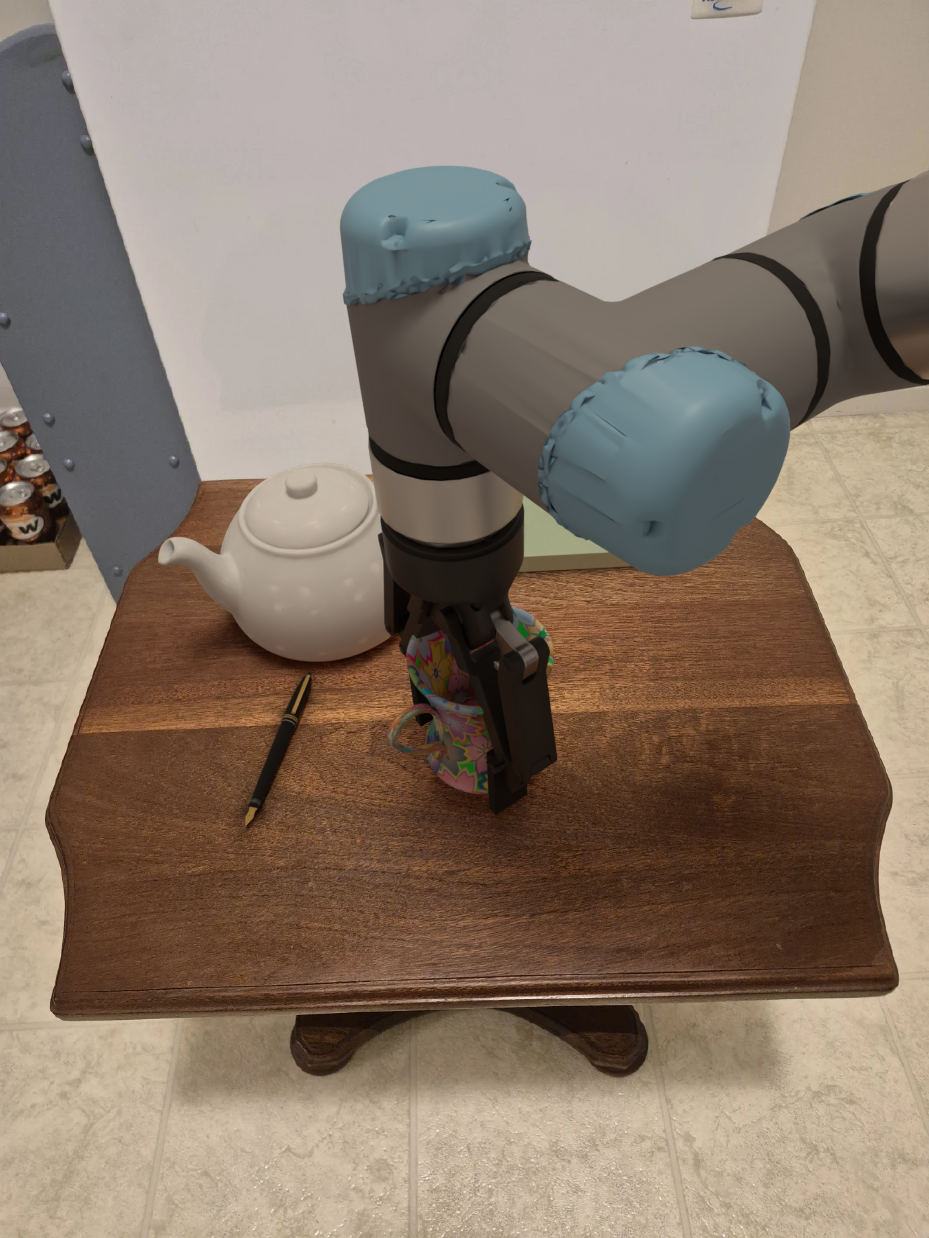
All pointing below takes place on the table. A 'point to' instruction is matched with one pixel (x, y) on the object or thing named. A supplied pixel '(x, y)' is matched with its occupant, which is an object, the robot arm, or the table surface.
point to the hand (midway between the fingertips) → (469, 755)
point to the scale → (558, 545)
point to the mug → (454, 708)
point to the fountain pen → (279, 744)
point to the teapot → (299, 564)
